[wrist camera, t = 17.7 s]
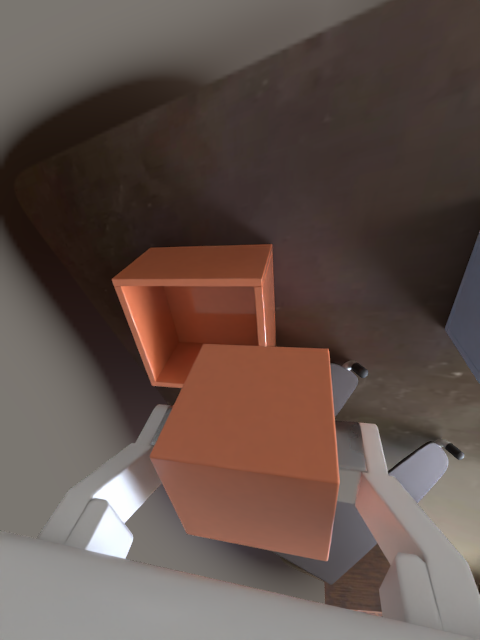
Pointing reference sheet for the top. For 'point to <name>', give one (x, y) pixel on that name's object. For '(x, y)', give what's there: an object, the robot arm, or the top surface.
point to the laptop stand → (349, 526)
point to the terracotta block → (254, 449)
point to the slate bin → (468, 314)
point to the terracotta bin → (196, 304)
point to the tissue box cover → (360, 584)
